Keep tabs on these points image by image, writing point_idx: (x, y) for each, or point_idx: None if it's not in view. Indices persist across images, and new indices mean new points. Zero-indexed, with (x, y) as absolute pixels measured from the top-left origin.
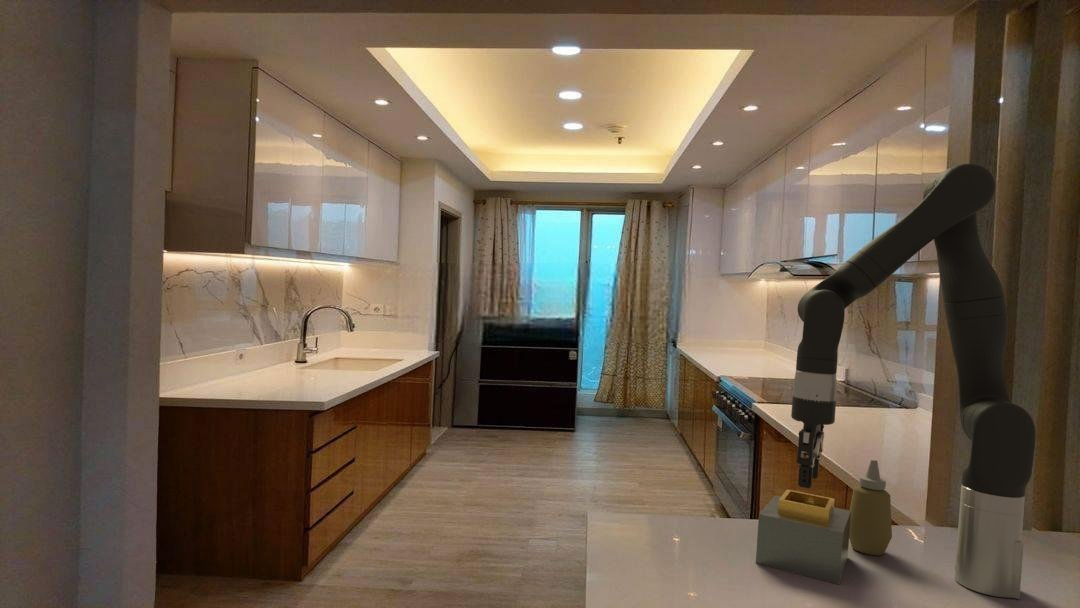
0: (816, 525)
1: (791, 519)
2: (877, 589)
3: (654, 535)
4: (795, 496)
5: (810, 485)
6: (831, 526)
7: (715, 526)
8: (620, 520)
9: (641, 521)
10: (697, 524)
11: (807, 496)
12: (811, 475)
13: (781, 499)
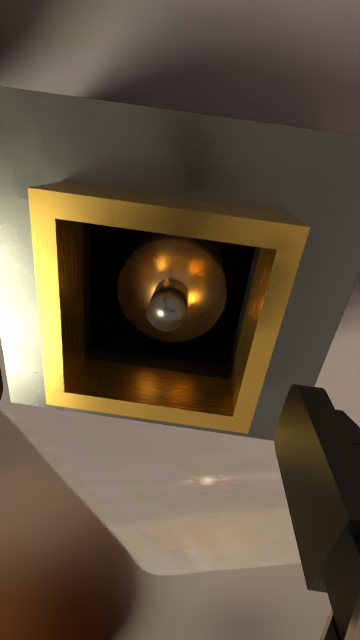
0: (341, 265)
1: (302, 354)
2: (311, 10)
3: (211, 507)
4: (71, 361)
5: (326, 398)
6: (325, 198)
7: (78, 430)
8: (169, 549)
9: (151, 528)
10: (94, 457)
11: (65, 321)
12: (355, 459)
13: (239, 425)
